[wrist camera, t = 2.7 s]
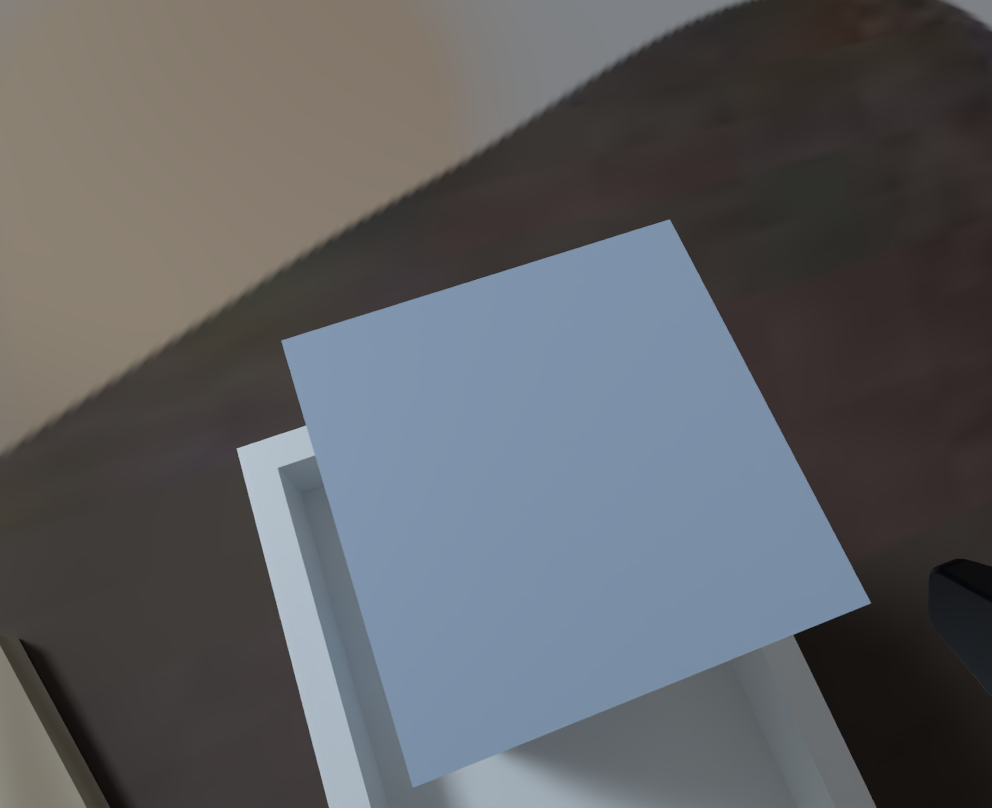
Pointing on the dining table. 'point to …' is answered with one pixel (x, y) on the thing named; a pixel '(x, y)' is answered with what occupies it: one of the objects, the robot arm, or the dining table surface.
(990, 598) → the robot arm
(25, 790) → the board
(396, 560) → the carton
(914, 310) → the dining table surface
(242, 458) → the tray
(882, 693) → the dining table surface
